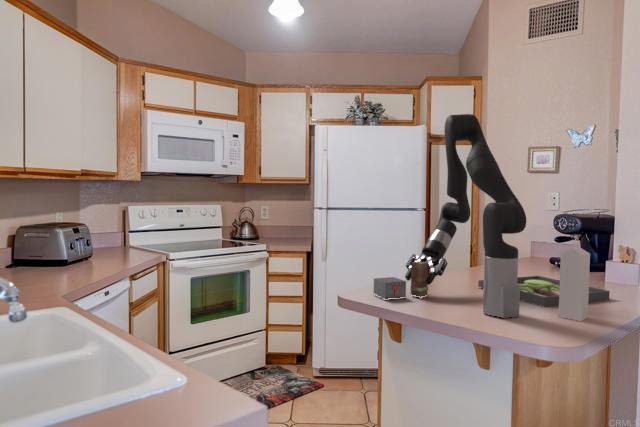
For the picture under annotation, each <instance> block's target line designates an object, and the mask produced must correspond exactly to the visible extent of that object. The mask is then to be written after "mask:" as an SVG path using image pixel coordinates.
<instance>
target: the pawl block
mask: <svg viewBox="0 0 640 427" xmlns="http://www.w3.org/2000/svg"><path fill="white" fill-rule="evenodd" d="M406 292H407V280H404V279H400V278H397V277H395V276H393V277H390V276H389V277H378V278H377V277H376V278H375V277H374V278H373V294H374V293H375V294H377V295H378V296H381V297H382V298H385V299H388V298H400V297H406V298H407V293H406Z"/></svg>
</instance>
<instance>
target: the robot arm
mask: <svg viewBox="0 0 640 427" xmlns="http://www.w3.org/2000/svg"><path fill="white" fill-rule="evenodd" d="M459 141H460V142H461V141H468V142H469V143H470V145H471V148H470V150H469V153H468V155H467V158H466V162H465V165H464V163H463V162H462V160H461V158H460V156H459V153H458V151H457V142H459ZM444 142H445V145H444V147H445V155H446V157H445V158H446V164H447V178H446V180H447V184H446V185H447V186H446V194H447V196H448V197H449V198H451V199H454V200H455V201H456V202H451V201H450V202H449V201H448V202H446V203H444V204H443V205H442V207H441V210H440V213H439V219H438V222H437V225H436V226H435V228H434V230H433V232H432V233H431V234H430V236H429V237H428V239H427V241H426V243H425V244H424V246H423V247H422V250H421V253H420V255H416V254H415V253H412V255H411V256H410V257H409V259H408V261H407V262H406V263H405V267H406V269H407V271H406V273H405V275H404V278H405V279H406V281H409V282H411V262H417V261H420V262H427V263H428V271H429V270H430V272H428V277H427V278H426V280H425V281H426V283H427V284H428V285H431V284H432V283H433V282H434V280H435V278H436V277H437V276H439V277H441V276H443V274H444V272H445V270H446V268H447V266H448V261H447V259H446V258H445V257H444V256H445V254H446V252H447V251H448V249H449V247H450V245H451V243H452V241H453V238H454V236H455V234H456V233H457V225H456V224H455V223H459V224H465V223H467V222H468V221H469V220H470V218H471V207H470V203H469V199H468V194H467V193H468V192H467V191H468V175H469V177H470V180H471V181H472V183H473V184H474V185H475V186H476V187H477V188H478V189H479V190H481V191H482V192H483V193H484V194H486V195H487V196H489V197H490V198H491V199H492V200H493V201H495V202H490V203H488V204H486V205H485V207H484V209H483V213H482V238H483V240H482V242H483V243H482V244H483V250H484V263H483V265H484V266H483V267H484V268H483V269H484V270H483V280H484V290H483V297H482V298H483V302H482V305H483V306H482V313H483V312H484V313H486V314H488V315H487V316H489V315H492V316H491V317H493V316H497V317H496V318H499V317H502V318H501V319H503V318H504V319H510V318H509V317H512V318H518V317H517V316H519V317H520V301H521V300H520V291H521V290H520V285H519V284H517V277H518V274H519V272H518V268H519V266H518V265H519V249H518V247H516V246H515V245H511V244H509V243H507V242H505V241H504V239H503V235H505V234H506V235H507V234H509V235H513V234H519V233H521V232H523V231H524V230H525V229H526V226H527V215H526V212H525V209H524V207H523V205H522V203H520V200H519V199H518V197H517V196H516V195H515V194H514V192H513V190H512V189H511V187H510V185H509V184H508V182H507V181H506V179H505V177H504V175H503V173H502V171H501V169H500V167H499V166H500V165H499V164H498V162H497V161H496V158H495V157H494V155H493V153H492V151H491V149H490V147H489V145H488V143H487V141H486V138H485V135H484V133H483V129H482V127H481V124H480V122H479V119H478V118H477V117H476V116H475V115H474V114H471V113H470V114H469V113H467V114H466V113H463V114H450V115H448V116H447V117H446V119H445V122H444ZM436 266H437V267H436ZM484 313H483V314H484ZM486 314H485V315H486Z"/></svg>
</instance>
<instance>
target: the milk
mask: <svg viewBox="0 0 640 427" xmlns="http://www.w3.org/2000/svg"><path fill="white" fill-rule="evenodd" d="M590 263H591V253H590V252H588V251H587V250H585V249H584V248H582V247H581V246H580V241H576V242H572V243H571V248H568V249H567V250H565V251H562V252H560V265H559V266H560V267H559V268H560V269H559V280H560V290H558V291H559V293H558V295H559V305H558V318H561V319H562V318H563V319H566V318H567V320H571V319H572V320H571V321H576V320H577V322H582V321H584V320H586V319H587V318H589V302H588V296H589V287H590V266H591V264H590Z"/></svg>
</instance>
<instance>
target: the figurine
mask: <svg viewBox="0 0 640 427" xmlns="http://www.w3.org/2000/svg"><path fill="white" fill-rule="evenodd" d="M524 283H525V284H519V285H520V291H524V292H528V293H532V294H535V292H536V291H538V292H539V293H540V294H543V292H542V290H541V289H545V290H547V291H548V292H551V291H552V290H555V289H556V290H558V291H559V290H560V286H558V285H554V284H552V283H550V282H547V281H543V280H526V281H524Z"/></svg>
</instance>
